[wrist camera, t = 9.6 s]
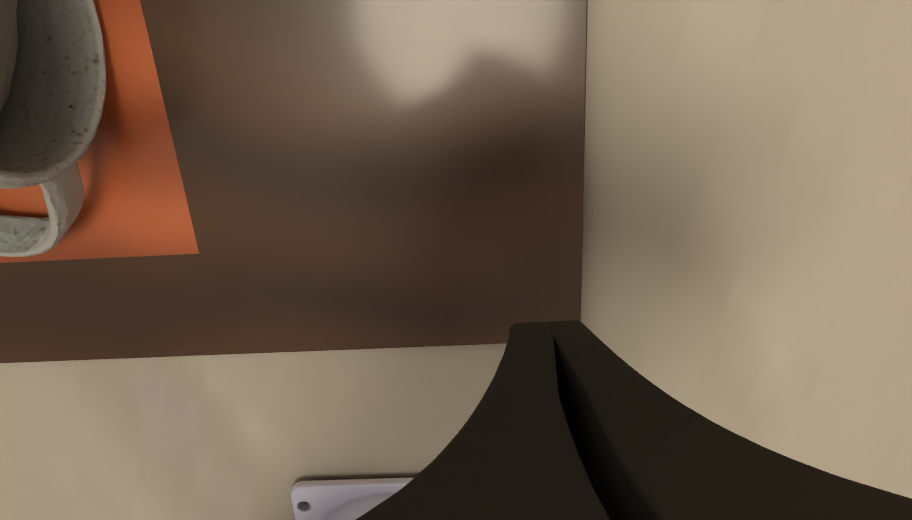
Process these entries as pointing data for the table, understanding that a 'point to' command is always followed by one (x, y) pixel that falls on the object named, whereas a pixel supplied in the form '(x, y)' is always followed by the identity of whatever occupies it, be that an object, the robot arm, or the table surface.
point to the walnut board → (315, 181)
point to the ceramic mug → (47, 112)
